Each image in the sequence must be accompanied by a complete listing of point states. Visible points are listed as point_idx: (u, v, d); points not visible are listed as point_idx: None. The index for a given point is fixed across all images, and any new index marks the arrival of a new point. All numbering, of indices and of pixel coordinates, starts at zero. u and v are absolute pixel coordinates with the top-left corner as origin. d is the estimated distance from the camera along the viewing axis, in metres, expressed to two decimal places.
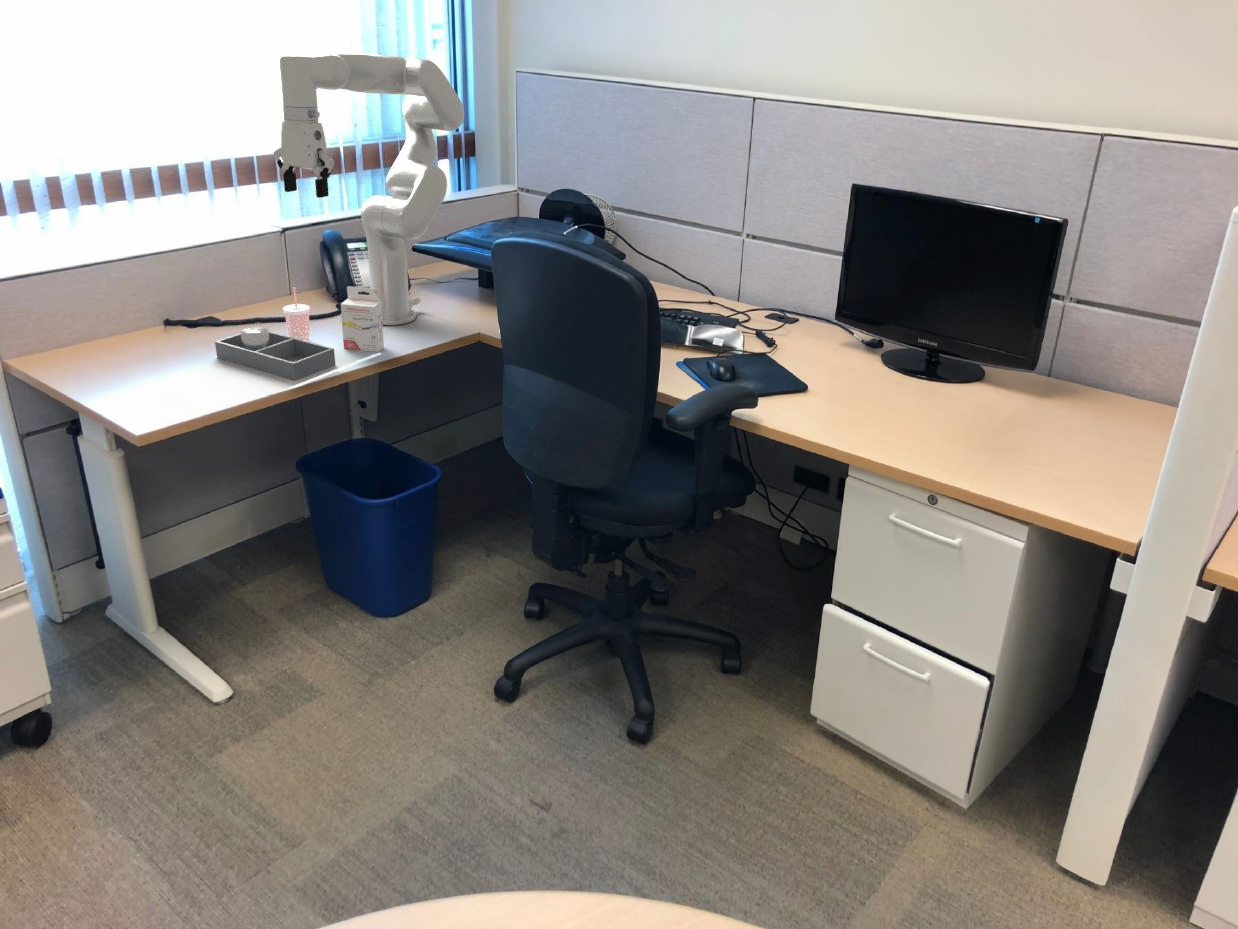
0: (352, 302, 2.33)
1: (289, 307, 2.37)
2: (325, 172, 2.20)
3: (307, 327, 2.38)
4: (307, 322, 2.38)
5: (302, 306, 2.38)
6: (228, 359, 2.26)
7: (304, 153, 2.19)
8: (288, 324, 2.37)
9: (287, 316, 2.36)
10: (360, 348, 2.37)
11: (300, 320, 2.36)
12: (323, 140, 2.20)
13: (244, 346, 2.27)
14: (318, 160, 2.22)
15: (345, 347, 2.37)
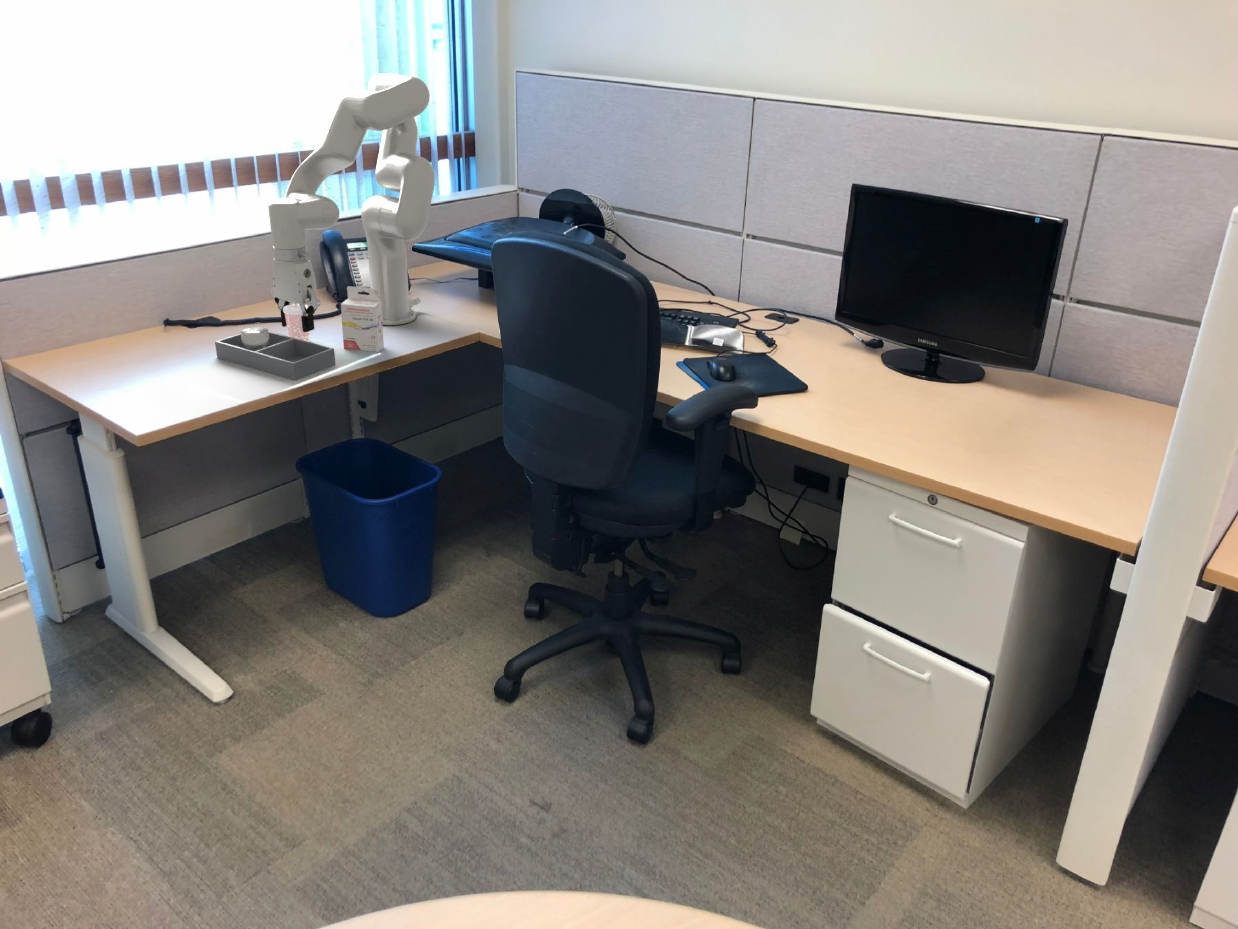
0: (352, 302, 2.33)
1: (289, 307, 2.37)
2: (310, 310, 2.34)
3: None
4: None
5: None
6: (228, 359, 2.26)
7: (294, 290, 2.32)
8: (288, 324, 2.37)
9: (287, 316, 2.36)
10: (360, 348, 2.37)
11: (300, 320, 2.36)
12: (312, 277, 2.33)
13: (244, 346, 2.27)
14: None
15: (345, 347, 2.37)
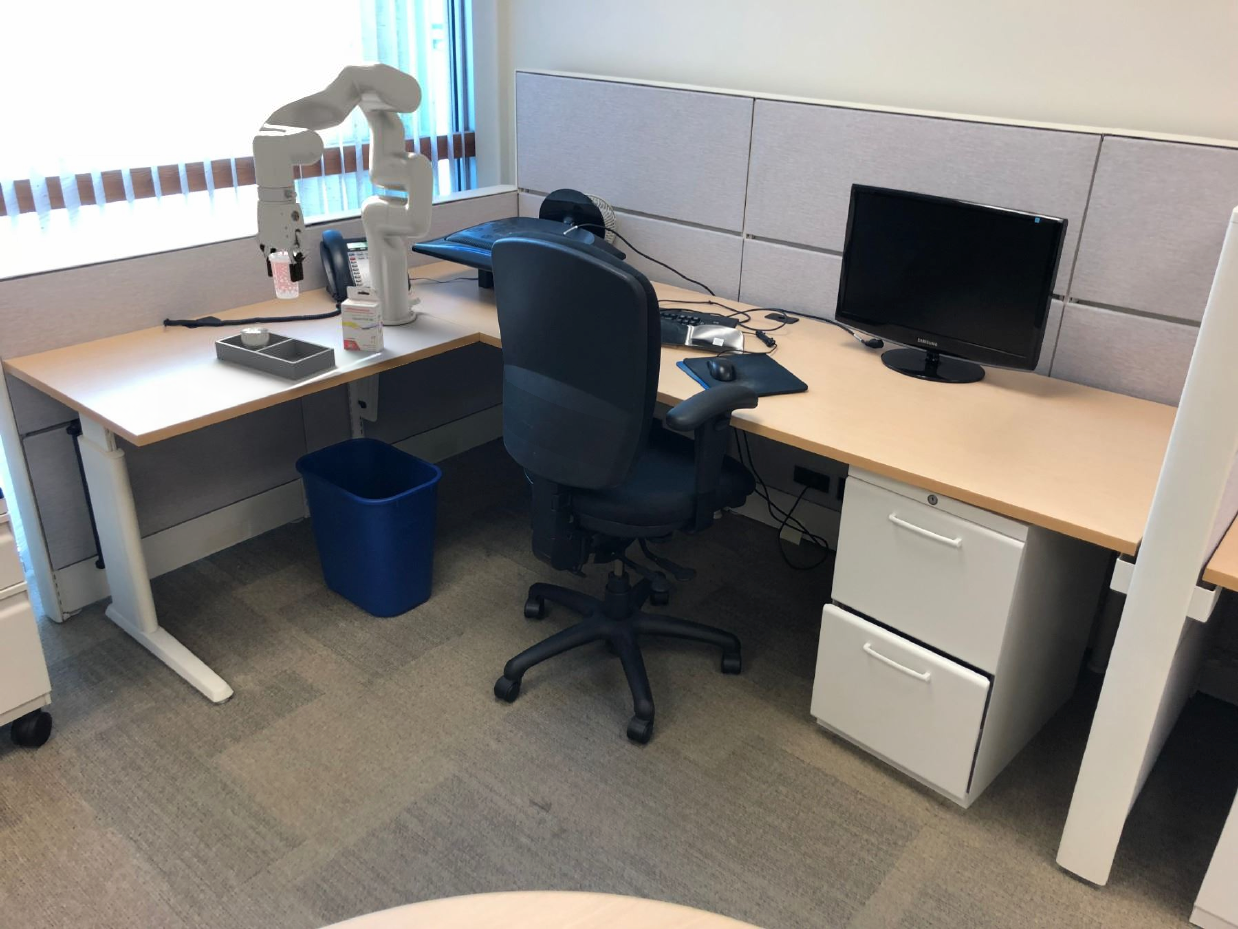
0: (352, 302, 2.33)
1: (275, 254, 2.15)
2: (299, 257, 2.11)
3: None
4: None
5: None
6: (228, 359, 2.26)
7: (281, 234, 2.09)
8: (274, 273, 2.14)
9: (273, 264, 2.13)
10: (360, 348, 2.37)
11: (288, 269, 2.13)
12: (301, 220, 2.10)
13: (244, 346, 2.27)
14: None
15: (345, 347, 2.37)
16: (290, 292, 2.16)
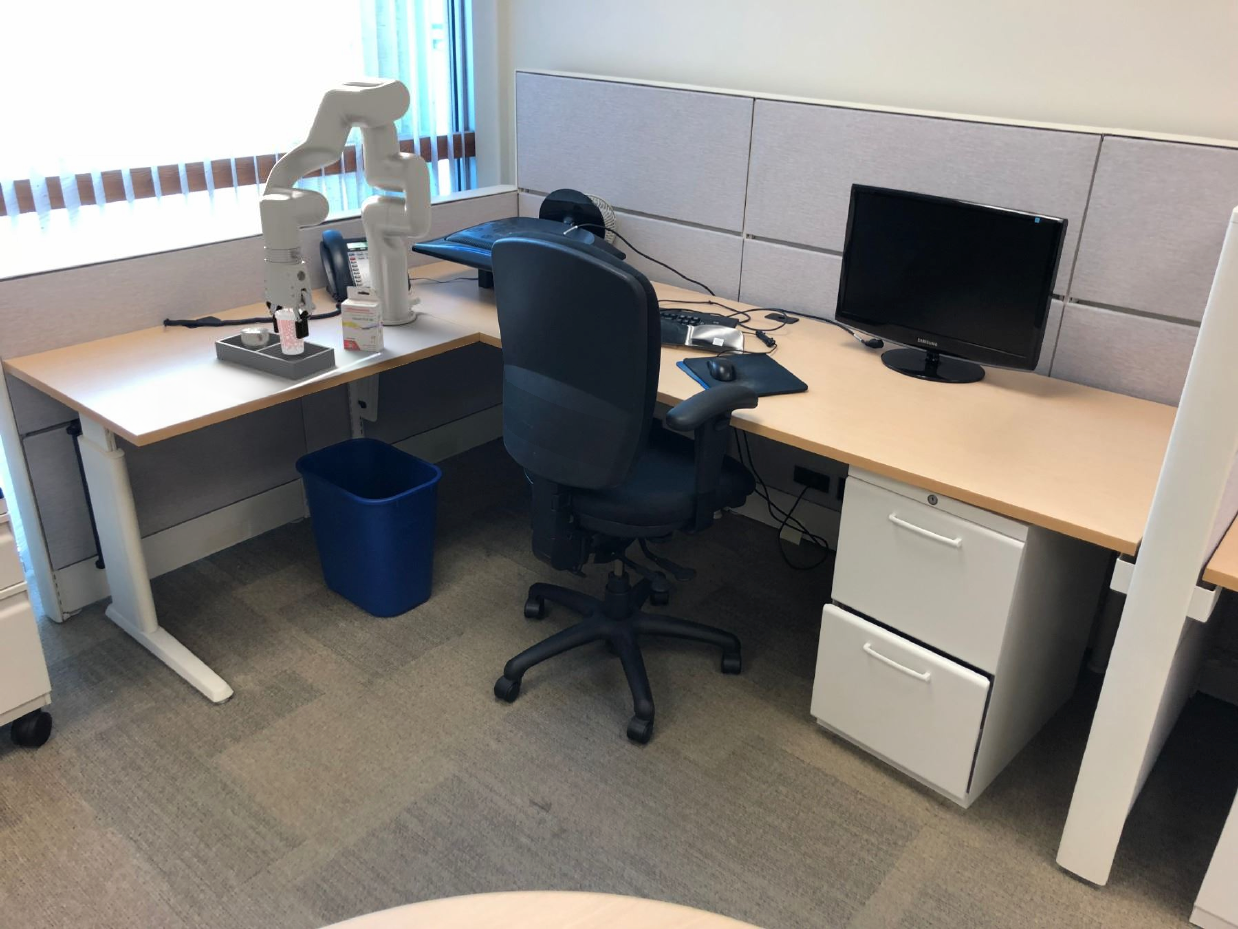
0: (352, 302, 2.33)
1: (281, 312, 2.20)
2: (305, 315, 2.16)
3: None
4: None
5: None
6: (228, 359, 2.26)
7: (287, 293, 2.14)
8: (280, 330, 2.19)
9: (279, 321, 2.18)
10: (360, 348, 2.37)
11: (293, 326, 2.19)
12: (307, 279, 2.15)
13: (244, 346, 2.27)
14: None
15: (345, 347, 2.37)
16: (295, 348, 2.21)
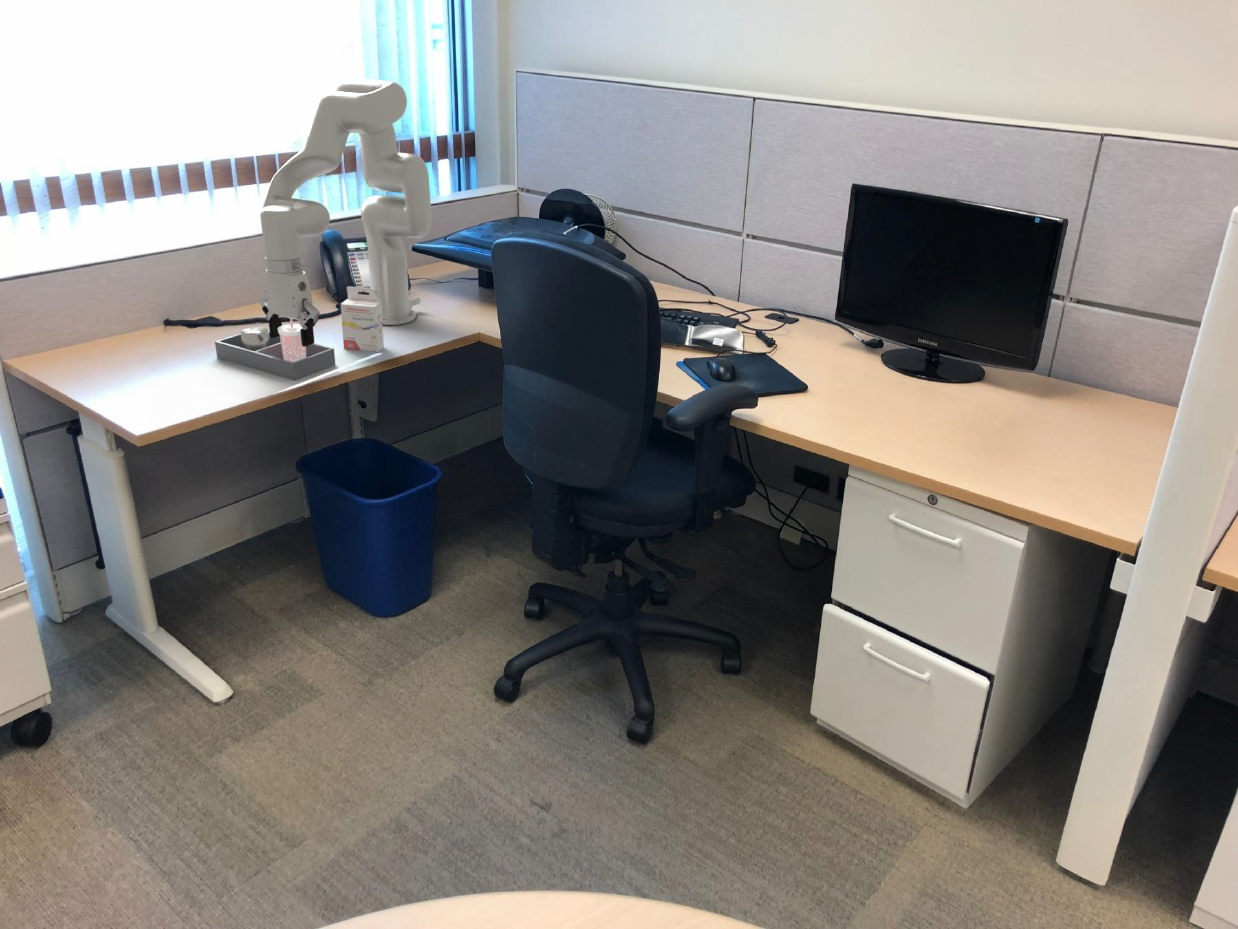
0: (352, 302, 2.33)
1: (284, 327, 2.22)
2: (310, 323, 2.16)
3: (303, 349, 2.23)
4: None
5: (298, 326, 2.23)
6: (228, 359, 2.26)
7: (289, 304, 2.15)
8: (283, 346, 2.21)
9: (282, 337, 2.20)
10: (360, 348, 2.37)
11: (296, 342, 2.20)
12: (308, 290, 2.16)
13: (244, 346, 2.27)
14: (303, 309, 2.18)
15: (345, 347, 2.37)
16: None
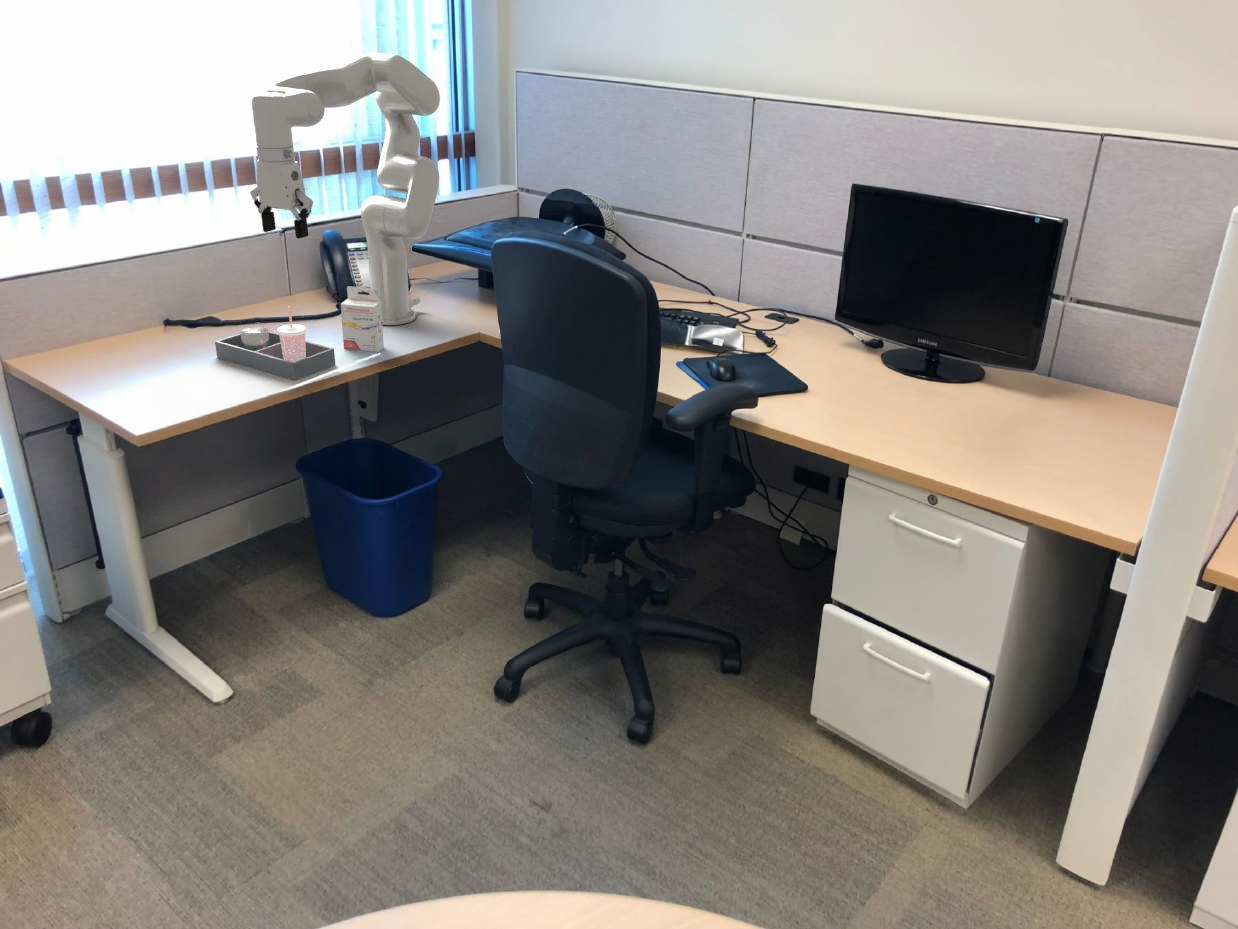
0: (352, 302, 2.33)
1: (284, 328, 2.22)
2: (304, 213, 2.15)
3: (303, 349, 2.23)
4: (303, 344, 2.22)
5: (298, 326, 2.23)
6: (228, 359, 2.26)
7: (281, 194, 2.14)
8: (283, 346, 2.21)
9: (282, 337, 2.20)
10: (360, 348, 2.37)
11: (296, 342, 2.20)
12: (300, 180, 2.15)
13: (244, 346, 2.27)
14: (296, 200, 2.17)
15: (345, 347, 2.37)
16: None
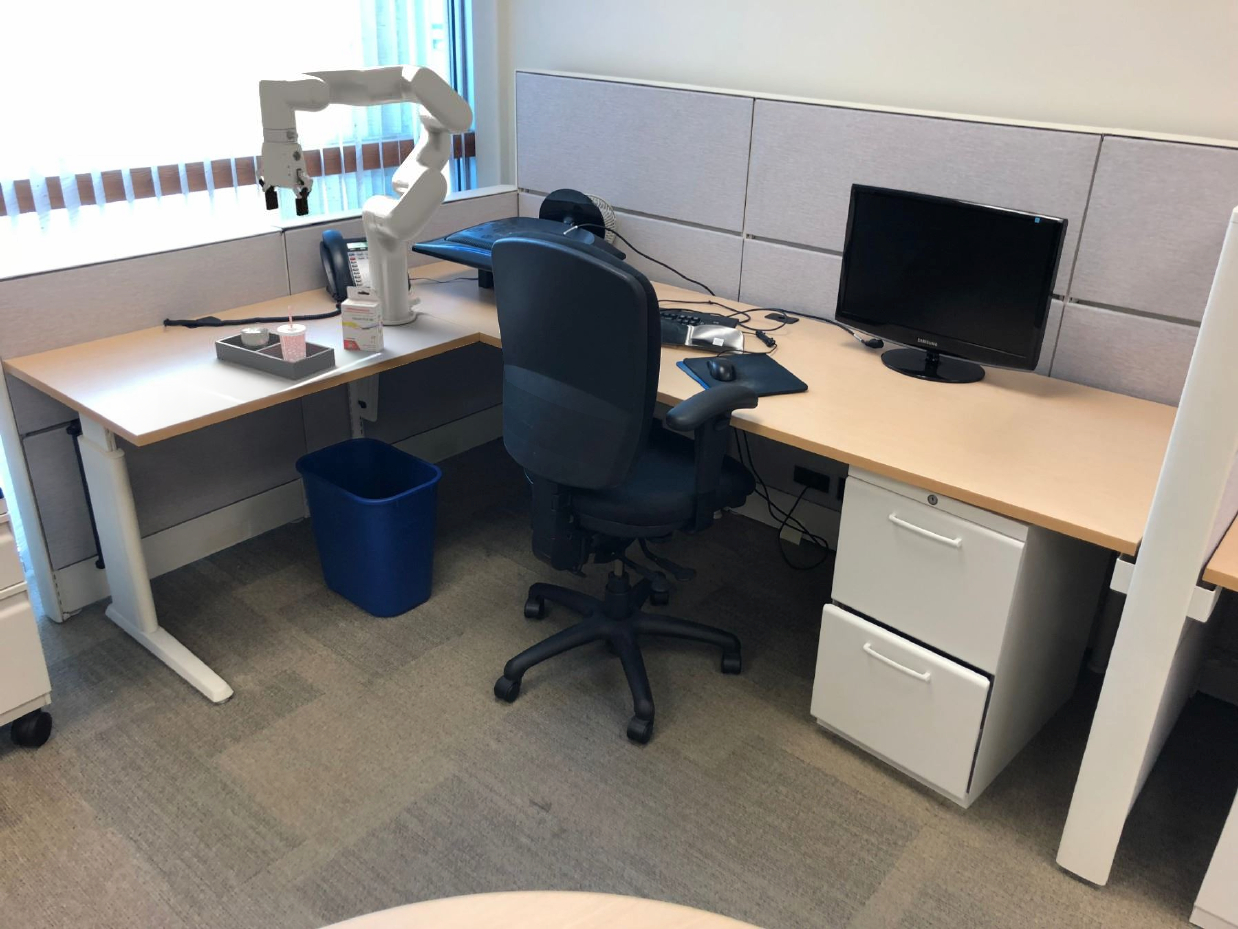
0: (352, 302, 2.33)
1: (284, 328, 2.22)
2: (304, 191, 2.26)
3: (303, 349, 2.23)
4: (303, 344, 2.22)
5: (298, 326, 2.23)
6: (228, 359, 2.26)
7: (284, 173, 2.26)
8: (283, 346, 2.21)
9: (282, 337, 2.20)
10: (360, 348, 2.37)
11: (296, 342, 2.20)
12: (302, 160, 2.26)
13: (244, 346, 2.27)
14: (298, 179, 2.29)
15: (345, 347, 2.37)
16: None
